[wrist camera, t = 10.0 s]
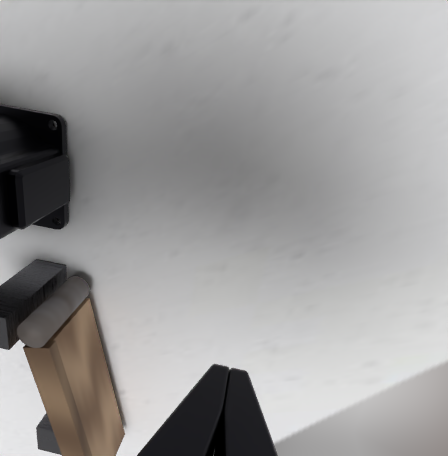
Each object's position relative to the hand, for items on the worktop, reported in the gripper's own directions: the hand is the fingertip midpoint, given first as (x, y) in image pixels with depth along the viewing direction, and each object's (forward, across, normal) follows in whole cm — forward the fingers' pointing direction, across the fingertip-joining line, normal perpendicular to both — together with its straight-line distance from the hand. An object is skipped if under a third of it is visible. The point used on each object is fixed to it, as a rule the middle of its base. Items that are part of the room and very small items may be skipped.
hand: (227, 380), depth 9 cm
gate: (+11, +9, +13) cm, 19 cm away
